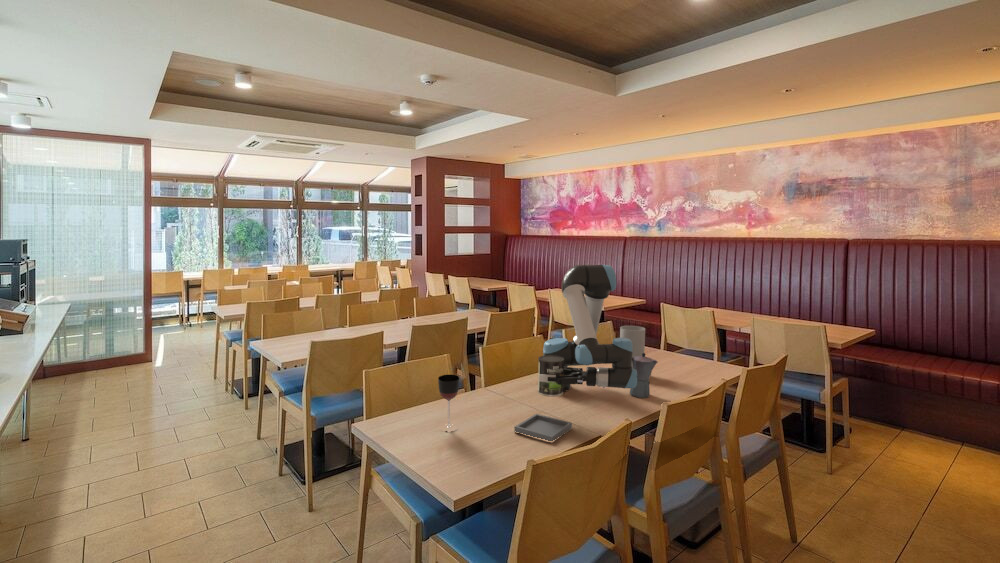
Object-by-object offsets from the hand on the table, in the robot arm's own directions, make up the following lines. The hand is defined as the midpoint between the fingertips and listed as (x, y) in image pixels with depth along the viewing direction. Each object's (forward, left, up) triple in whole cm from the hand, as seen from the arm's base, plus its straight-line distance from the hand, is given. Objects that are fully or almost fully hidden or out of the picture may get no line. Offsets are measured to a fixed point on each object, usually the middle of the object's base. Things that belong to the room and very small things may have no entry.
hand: (540, 373), depth 204 cm
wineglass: (-23, -29, -19) cm, 42 cm away
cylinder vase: (+10, +79, -19) cm, 82 cm away
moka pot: (+24, +51, -19) cm, 59 cm away
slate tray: (+8, -10, -19) cm, 22 cm away
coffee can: (+4, +2, -8) cm, 9 cm away
